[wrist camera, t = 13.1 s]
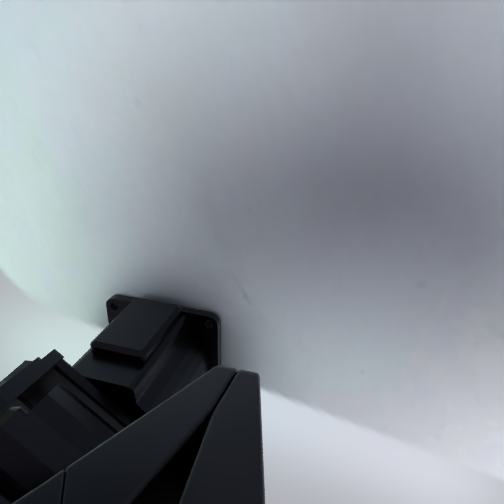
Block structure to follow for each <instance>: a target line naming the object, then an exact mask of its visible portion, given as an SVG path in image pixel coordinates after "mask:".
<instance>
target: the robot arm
mask: <svg viewBox="0 0 504 504" xmlns="http://www.w3.org/2000/svg"><path fill="white" fill-rule="evenodd" d="M115 303H116V304H117V305H118V306H116V305H115ZM106 307H107V314H108V321H109V325H108V326H107V327H106V328H105V329H104V330H103V331H102V332H101V333H100V334H99V335H98V336H97V337H96V338H95V339H94V340H93V341H92V342H91V344H90V345H91V348H90V349H89V350H88V351H87V352H86V353H85V354H84V355H83V356H82V357H81V358H80V359H79V360H78V361H77V362H76V363H75V364H74V365H73V366H71V365H70V364H68V363H67V362H66V361H65V360H63V358H64V357H63V356H62V355H61V354H60V353H59V352H58V351H56V350H55V349H54V350H53V351H51V352H50V353H49V354H47V355H46V356H45V357H44V358H42V359H40V358H39V357H38V358H36V359H35V360H34V361H24V362H23V363H22V364H21V365H20V366H19V367H17V368H16V369H15V370H14V371H13V372H12V373H10V374H9V375H8V376H7V377H6V378H4V379H3V380H2V381H1V382H0V504H265V489H264V466H263V443H262V421H261V397H260V377H259V374H258V373H255V372H250V371H245V370H240V371H238V370H237V369H235V368H231V367H226V366H222V365H221V340H220V319H219V317H218V316H217V315H216V314H214V313H212V312H206V311H201V310H196V309H190V308H185V307H179V306H177V305H172V304H167V303H161V302H156V301H150V300H145V299H139V298H136V299H135V298H130V297H124V296H119V295H114V296H112V297H111V298H110V299H109V300H108V301H107V302H106ZM207 320H209V321H211V322H212V323H213V324H209V323H208V322H207Z"/></svg>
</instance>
